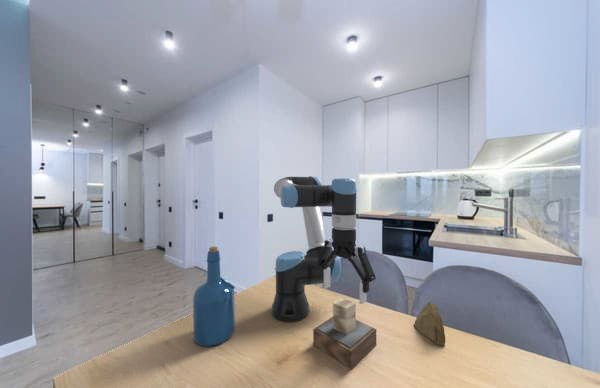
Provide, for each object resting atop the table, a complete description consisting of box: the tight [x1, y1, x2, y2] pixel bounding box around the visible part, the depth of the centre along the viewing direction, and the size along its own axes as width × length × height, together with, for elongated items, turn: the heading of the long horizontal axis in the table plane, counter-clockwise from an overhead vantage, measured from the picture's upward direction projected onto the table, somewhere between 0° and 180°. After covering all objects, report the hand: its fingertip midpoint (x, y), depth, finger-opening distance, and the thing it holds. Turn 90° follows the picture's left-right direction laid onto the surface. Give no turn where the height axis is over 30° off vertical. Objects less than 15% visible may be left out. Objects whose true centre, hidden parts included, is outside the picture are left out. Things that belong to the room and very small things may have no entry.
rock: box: [413, 301, 446, 346], centre depth 75 cm, size 11×9×10 cm
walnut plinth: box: [312, 316, 377, 370], centre depth 71 cm, size 14×14×5 cm
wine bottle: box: [192, 245, 236, 347], centre depth 77 cm, size 14×13×30 cm
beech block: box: [332, 297, 357, 335], centre depth 71 cm, size 5×5×8 cm
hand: (343, 294), depth 71 cm, fingers open, 13 cm apart
